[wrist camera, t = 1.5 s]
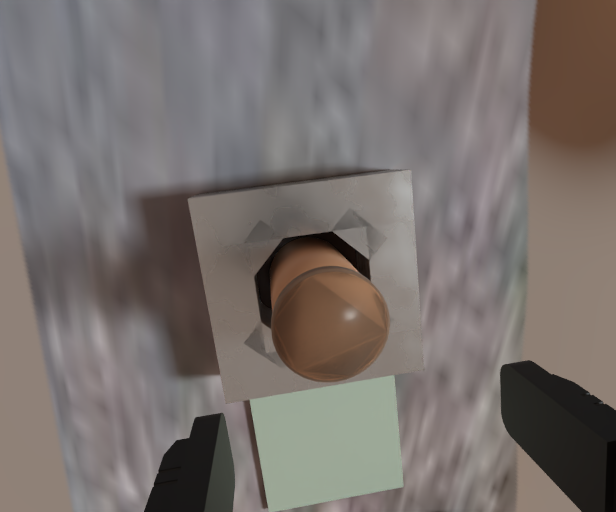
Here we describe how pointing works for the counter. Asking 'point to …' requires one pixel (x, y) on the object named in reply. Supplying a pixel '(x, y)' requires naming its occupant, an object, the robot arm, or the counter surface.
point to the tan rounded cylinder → (324, 312)
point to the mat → (328, 442)
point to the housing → (295, 222)
